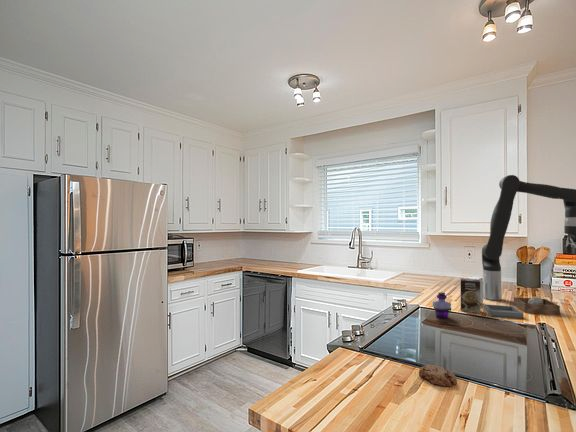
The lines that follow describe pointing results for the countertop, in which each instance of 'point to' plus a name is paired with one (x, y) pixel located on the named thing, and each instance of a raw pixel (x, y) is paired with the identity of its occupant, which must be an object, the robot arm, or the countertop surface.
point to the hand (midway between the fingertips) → (573, 254)
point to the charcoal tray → (503, 311)
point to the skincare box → (480, 286)
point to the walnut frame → (537, 306)
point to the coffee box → (470, 295)
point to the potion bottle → (442, 306)
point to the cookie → (438, 375)
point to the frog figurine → (535, 300)
